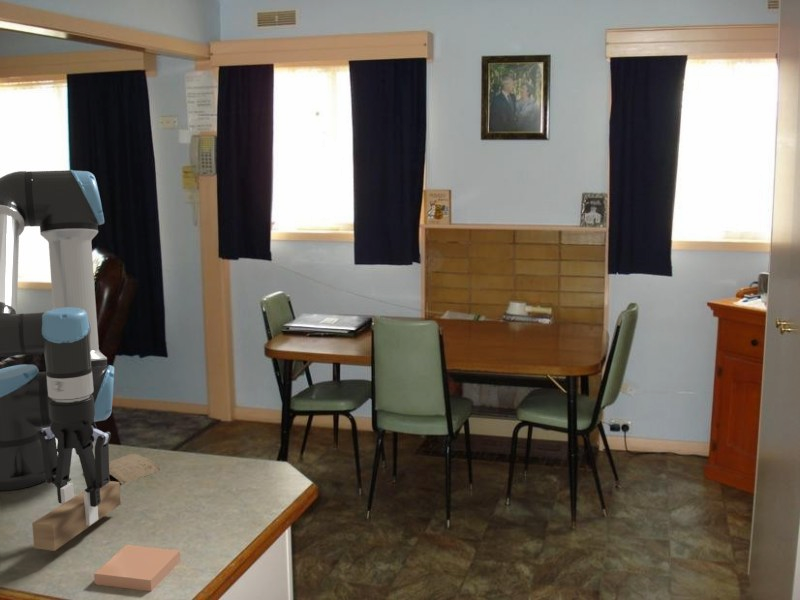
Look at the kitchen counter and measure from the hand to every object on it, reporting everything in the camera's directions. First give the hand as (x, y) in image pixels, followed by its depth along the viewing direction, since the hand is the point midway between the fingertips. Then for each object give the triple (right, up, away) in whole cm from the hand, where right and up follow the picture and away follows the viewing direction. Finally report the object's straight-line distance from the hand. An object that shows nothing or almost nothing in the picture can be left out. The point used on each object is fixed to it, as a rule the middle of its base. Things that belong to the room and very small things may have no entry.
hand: (80, 520), depth 154 cm
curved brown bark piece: (-2, +2, +30) cm, 30 cm away
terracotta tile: (+15, -4, -8) cm, 18 cm away
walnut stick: (0, -1, 0) cm, 1 cm away
